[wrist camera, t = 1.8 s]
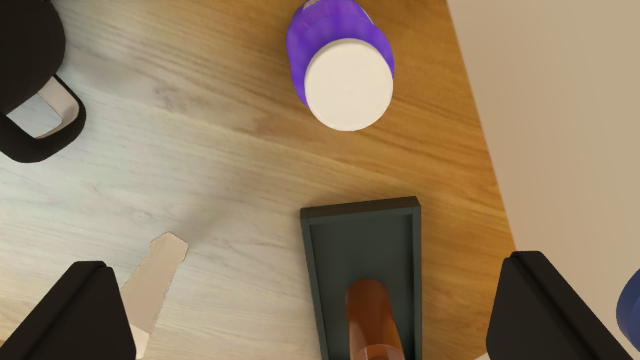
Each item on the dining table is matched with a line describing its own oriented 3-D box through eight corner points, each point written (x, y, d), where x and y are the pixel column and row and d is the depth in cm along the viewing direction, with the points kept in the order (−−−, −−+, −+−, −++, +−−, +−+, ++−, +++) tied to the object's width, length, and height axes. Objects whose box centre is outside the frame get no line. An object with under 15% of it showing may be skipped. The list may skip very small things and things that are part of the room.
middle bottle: (387, 276, 44) (412, 371, 33) (389, 311, 46) (413, 410, 35) (341, 281, 44) (351, 376, 33) (346, 315, 46) (356, 415, 36)
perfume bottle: (168, 273, 44) (104, 400, 31) (140, 244, 43) (60, 365, 29) (201, 254, 43) (150, 378, 30) (174, 224, 42) (107, 340, 28)
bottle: (381, 61, 35) (437, 125, 19) (323, 93, 36) (331, 178, 20) (342, -22, 32) (370, -27, 16) (280, 16, 33) (251, 45, 17)
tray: (415, 195, 41) (420, 206, 39) (418, 356, 50) (422, 370, 48) (300, 208, 41) (299, 219, 39) (325, 364, 51) (325, 379, 49)
